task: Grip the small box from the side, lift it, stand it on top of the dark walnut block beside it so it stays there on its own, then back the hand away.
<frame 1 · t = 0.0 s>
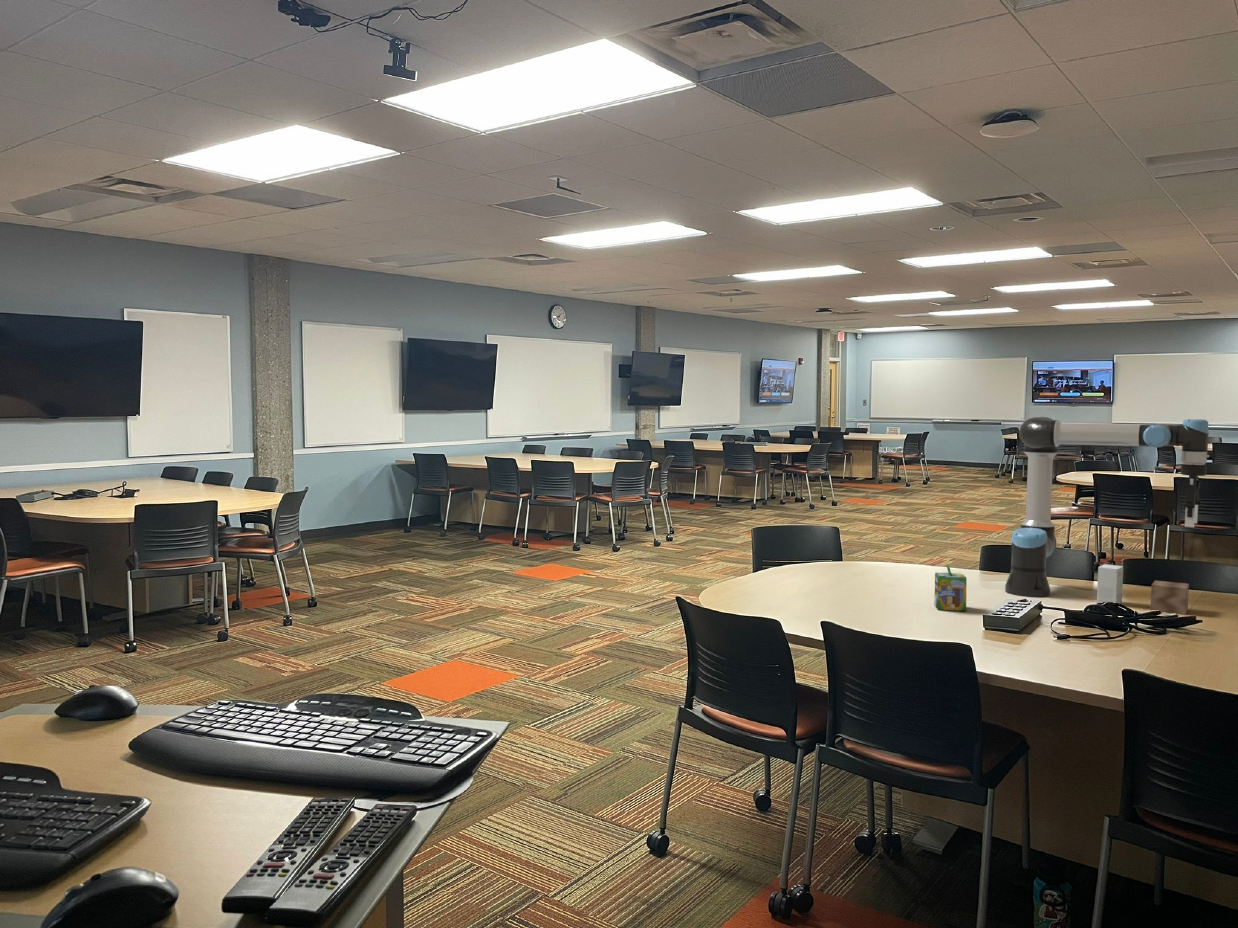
hand: (1190, 525, 314), 28 cm above the table, tool pointing down, fingers open, 13 cm apart
walnut block: (1169, 610, 307), on the table
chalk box: (949, 608, 307), on the table
small box: (1109, 603, 318), on the table
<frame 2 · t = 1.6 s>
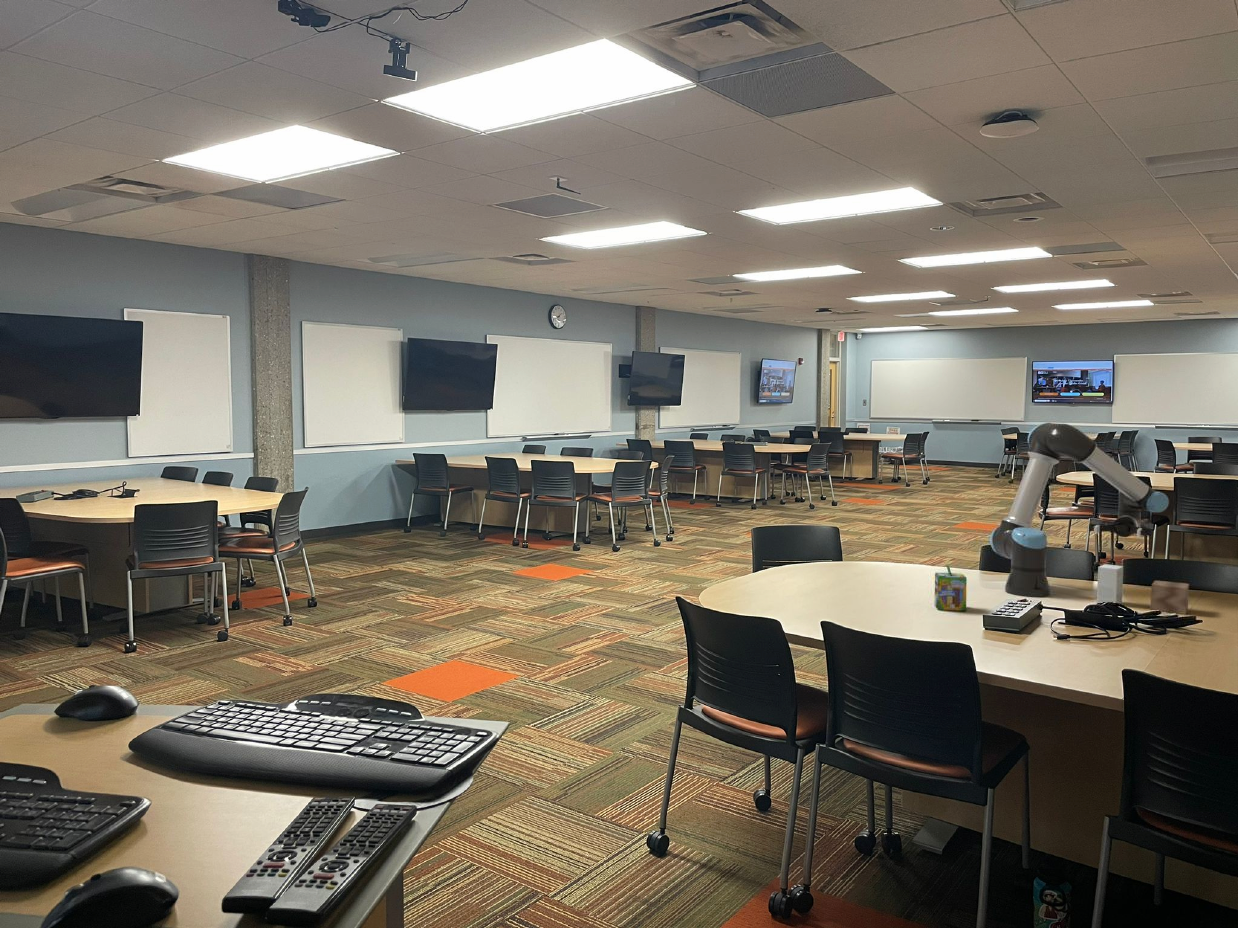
hand: (1116, 532, 324), 24 cm above the table, tool horizontal, fingers open, 13 cm apart
nothing on the table moved.
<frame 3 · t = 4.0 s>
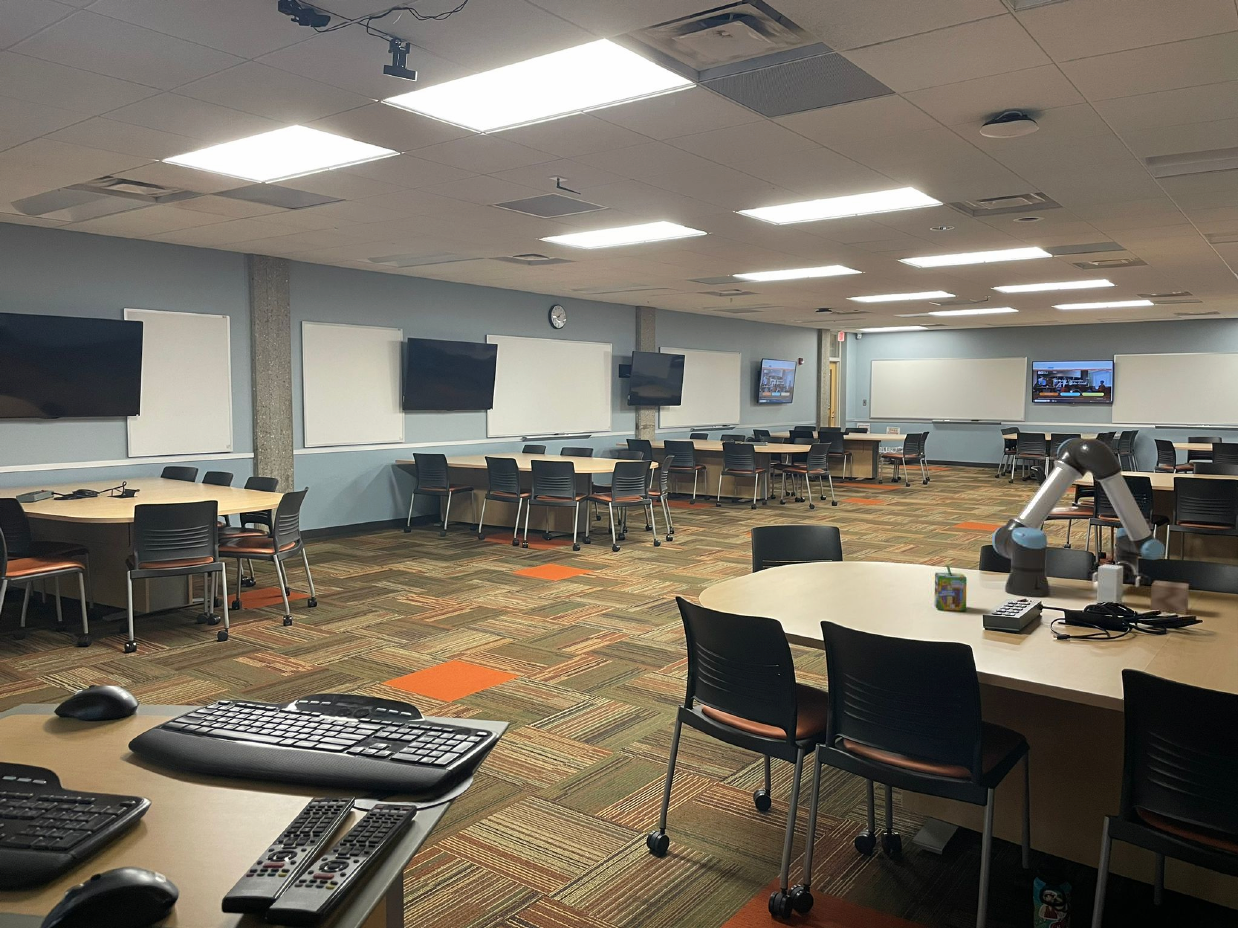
hand: (1114, 580, 323), 7 cm above the table, tool horizontal, fingers open, 13 cm apart
nothing on the table moved.
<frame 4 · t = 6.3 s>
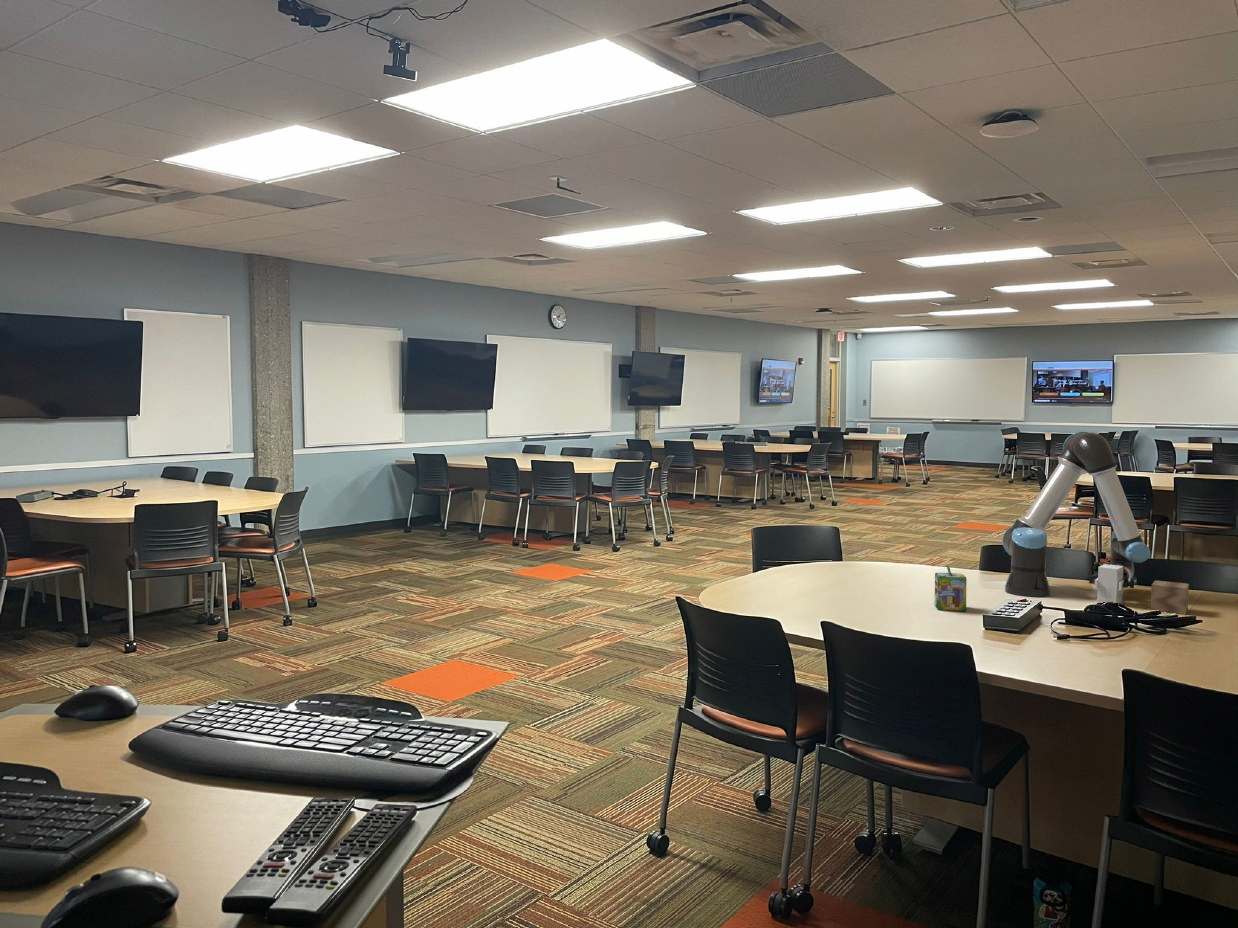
hand: (1107, 585, 313), 7 cm above the table, tool horizontal, fingers closed on small box, 7 cm apart
small box: (1109, 603, 318), on the table, touching gripper
everything else where it was.
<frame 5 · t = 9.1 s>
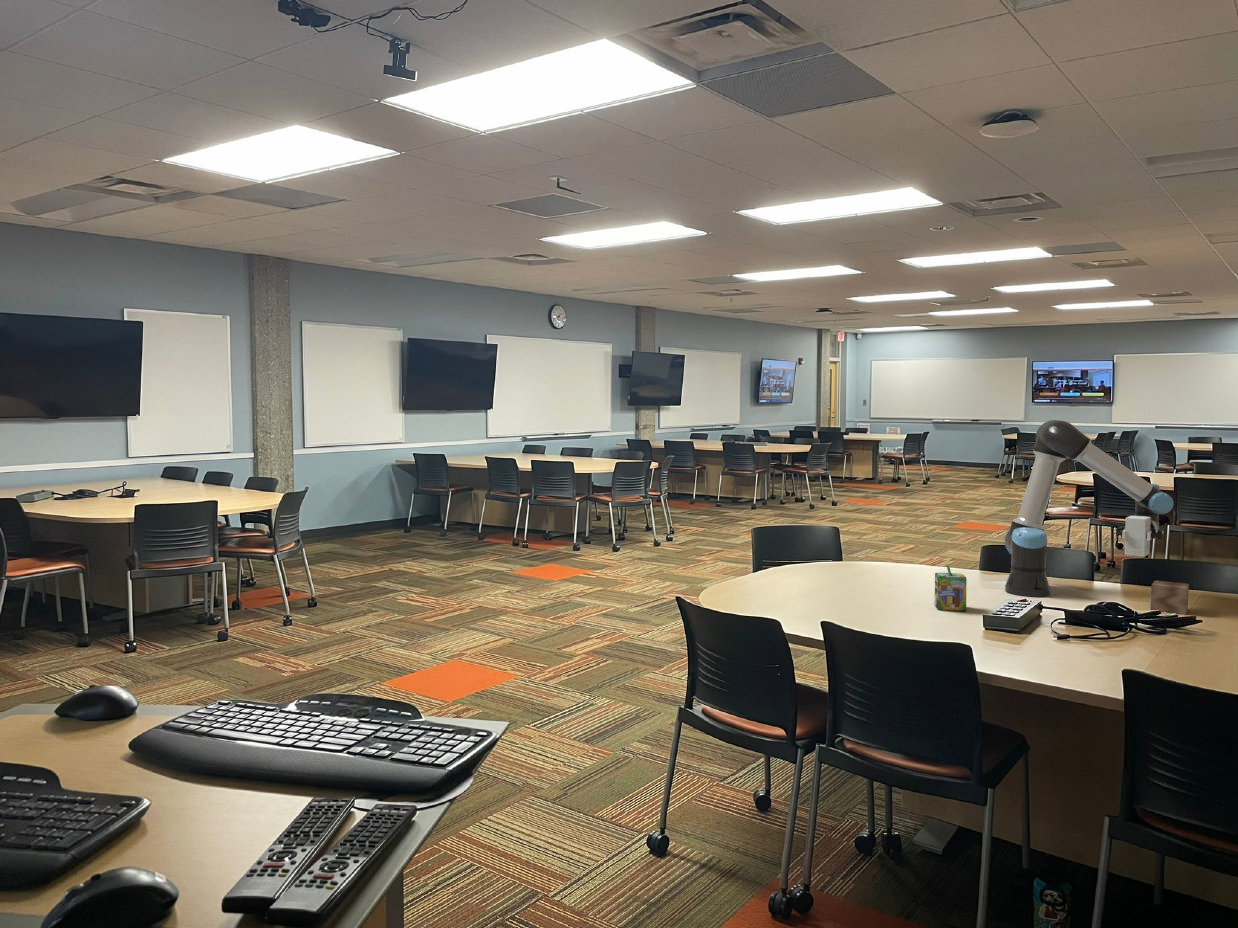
hand: (1135, 535, 308), 25 cm above the table, tool horizontal, fingers closed on small box, 7 cm apart
small box: (1136, 555, 313), point 18 cm above the table, touching gripper
everything else where it was.
when the fingers open (17 cm above the table, at t = 12.0 s): small box drops 2 cm, resting on walnut block.
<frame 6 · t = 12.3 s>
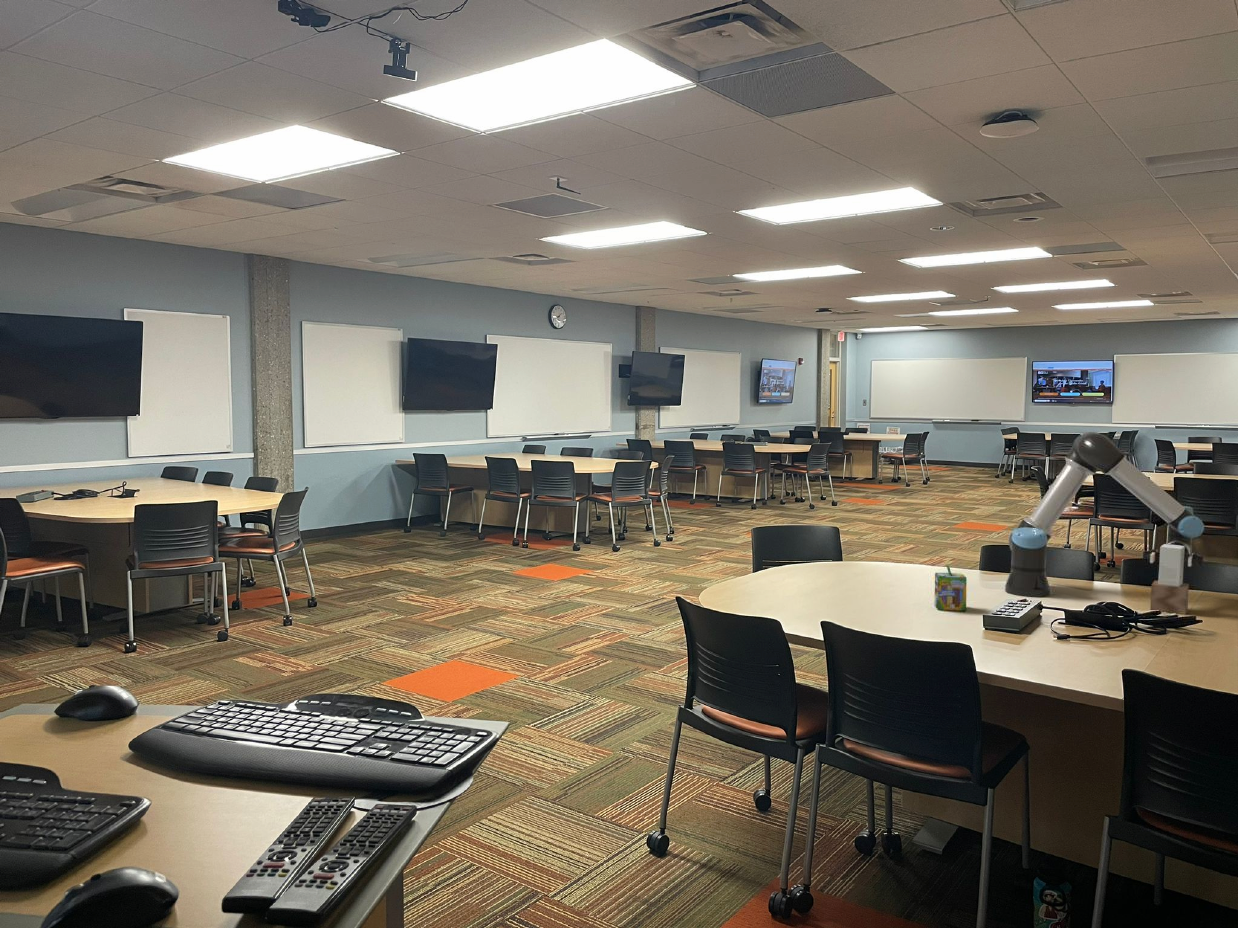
hand: (1170, 560, 303), 17 cm above the table, tool horizontal, fingers open, 10 cm apart
walnut block: (1168, 610, 307), on the table, touching small box
small box: (1170, 584, 306), point 9 cm above the table, touching walnut block
everything else where it was.
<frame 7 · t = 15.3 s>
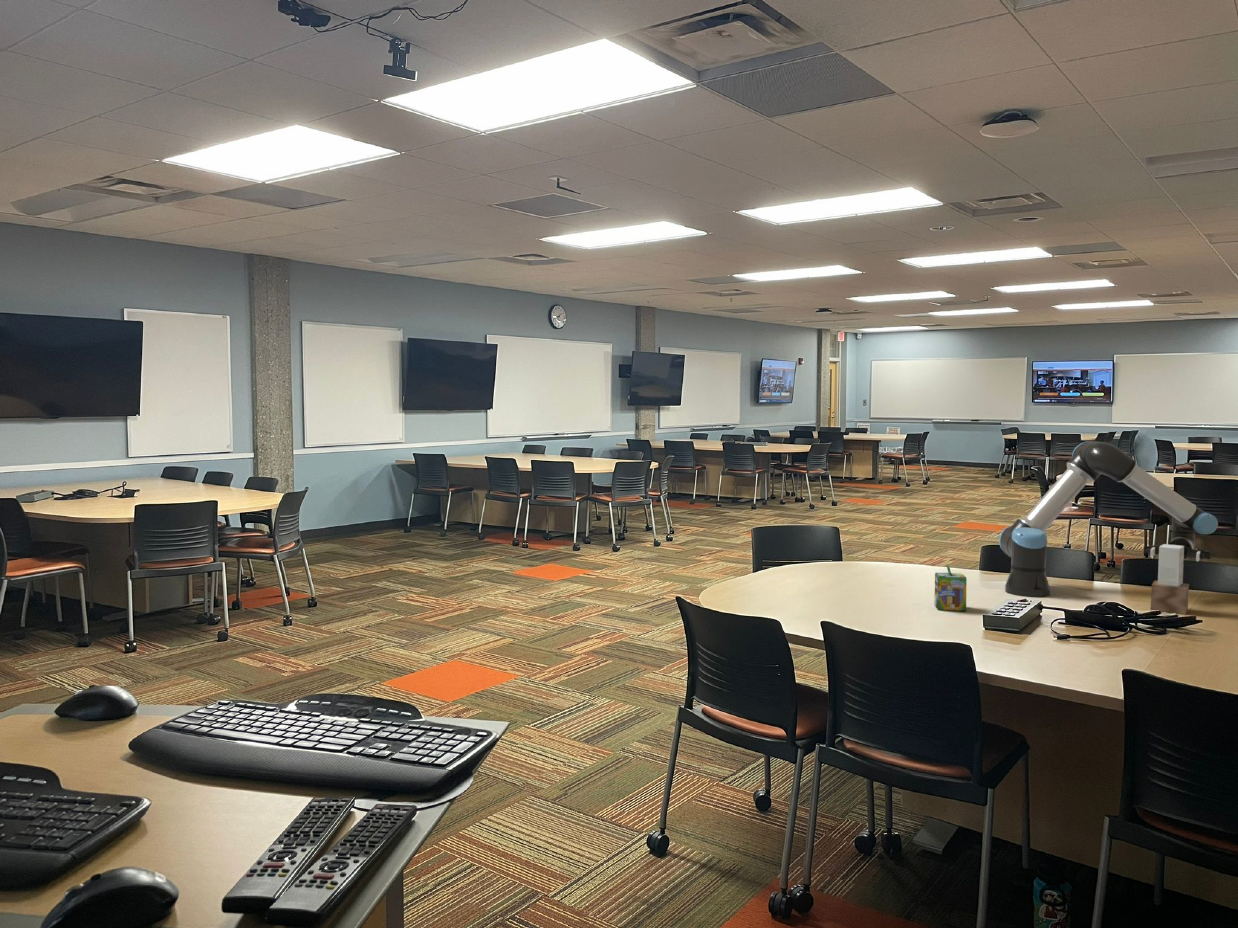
hand: (1174, 555, 313), 18 cm above the table, tool horizontal, fingers open, 13 cm apart
nothing on the table moved.
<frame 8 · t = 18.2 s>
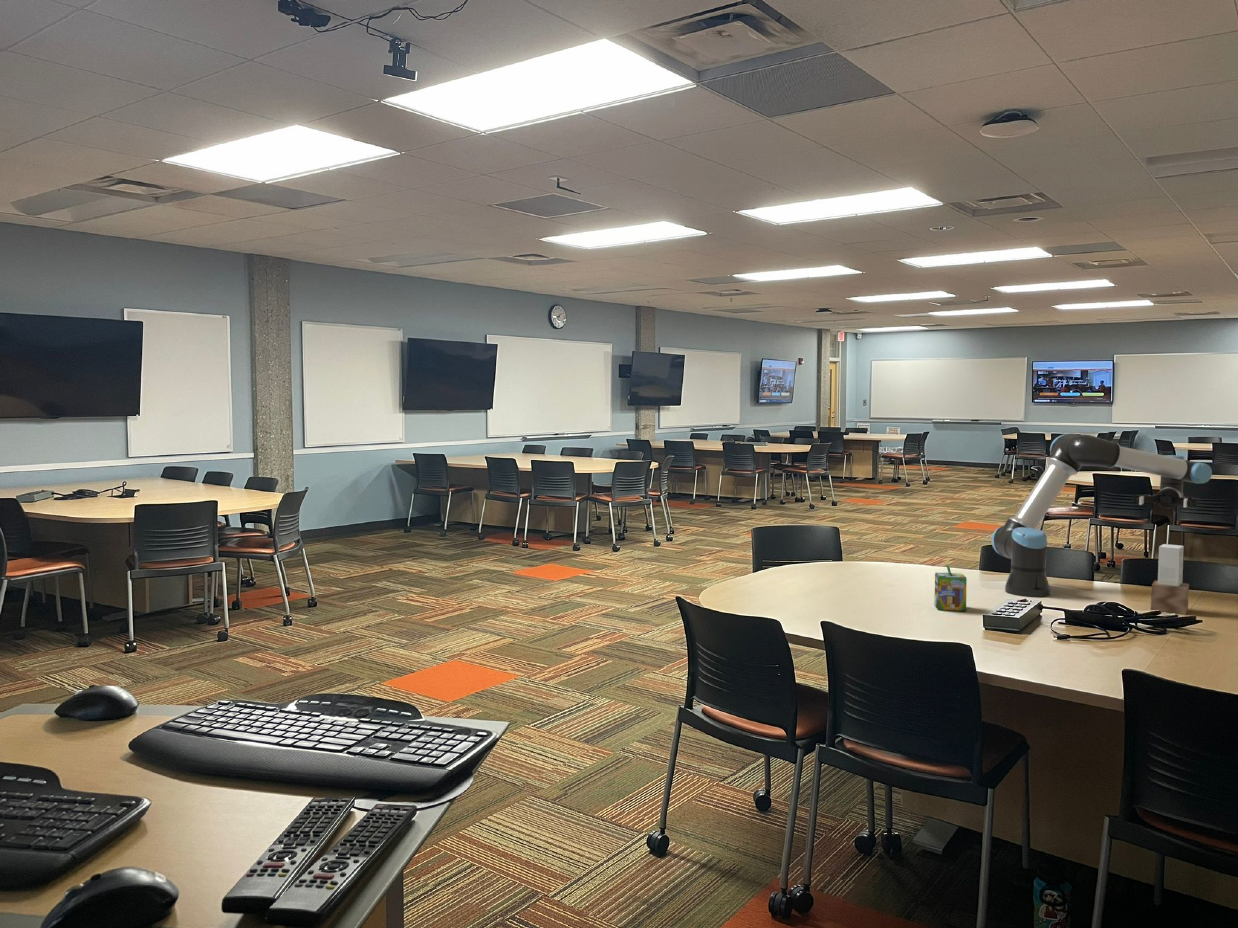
hand: (1162, 502, 322), 35 cm above the table, tool horizontal, fingers open, 13 cm apart
walnut block: (1169, 610, 307), on the table
small box: (1169, 584, 307), point 9 cm above the table
everything else where it was.
at the end: small box 0.2 cm off-centre on the walnut block, point 8.8 cm above the walnut block's base; small box tilted 0°; the gripper is holding nothing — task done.
